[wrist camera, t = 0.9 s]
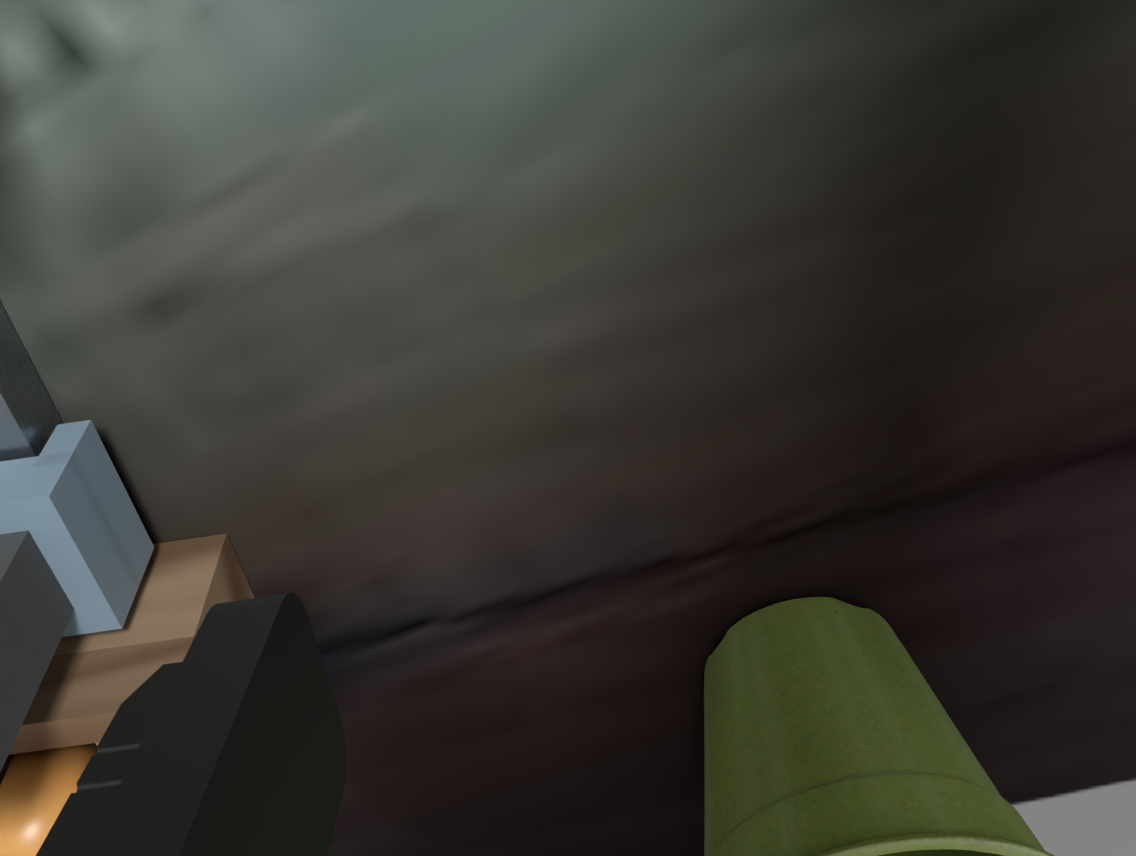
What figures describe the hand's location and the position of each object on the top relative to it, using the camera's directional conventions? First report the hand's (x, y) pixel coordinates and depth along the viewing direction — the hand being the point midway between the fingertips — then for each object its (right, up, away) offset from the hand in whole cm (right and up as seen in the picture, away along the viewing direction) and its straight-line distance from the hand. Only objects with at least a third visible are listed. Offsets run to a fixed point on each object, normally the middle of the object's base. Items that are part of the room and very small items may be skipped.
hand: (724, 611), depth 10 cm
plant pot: (+7, -7, +30) cm, 31 cm away
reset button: (-16, -8, +21) cm, 28 cm away
